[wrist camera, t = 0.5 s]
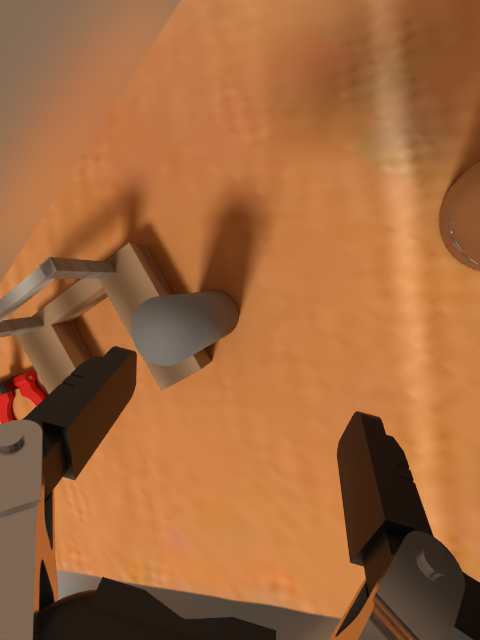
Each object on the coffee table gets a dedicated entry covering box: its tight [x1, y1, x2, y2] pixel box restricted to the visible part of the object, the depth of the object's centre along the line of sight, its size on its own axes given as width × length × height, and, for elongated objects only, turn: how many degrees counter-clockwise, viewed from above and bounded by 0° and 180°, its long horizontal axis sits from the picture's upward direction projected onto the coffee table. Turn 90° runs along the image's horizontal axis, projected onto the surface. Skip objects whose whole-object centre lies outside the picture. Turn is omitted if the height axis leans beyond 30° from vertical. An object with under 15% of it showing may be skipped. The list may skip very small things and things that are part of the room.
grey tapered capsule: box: [132, 291, 239, 366], centre depth 26 cm, size 5×5×11 cm
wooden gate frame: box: [0, 243, 212, 394], centre depth 30 cm, size 18×14×10 cm
